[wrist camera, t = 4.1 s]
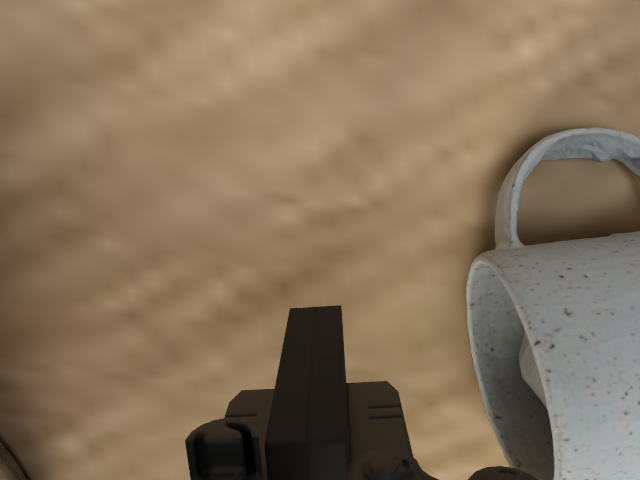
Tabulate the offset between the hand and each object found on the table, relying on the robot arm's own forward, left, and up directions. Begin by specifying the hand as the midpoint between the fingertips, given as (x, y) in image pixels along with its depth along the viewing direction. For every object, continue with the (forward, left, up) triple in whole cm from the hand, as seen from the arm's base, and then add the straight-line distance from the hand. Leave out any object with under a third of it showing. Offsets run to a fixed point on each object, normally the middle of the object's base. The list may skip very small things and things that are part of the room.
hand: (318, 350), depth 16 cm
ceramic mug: (+9, 0, -5) cm, 10 cm away
